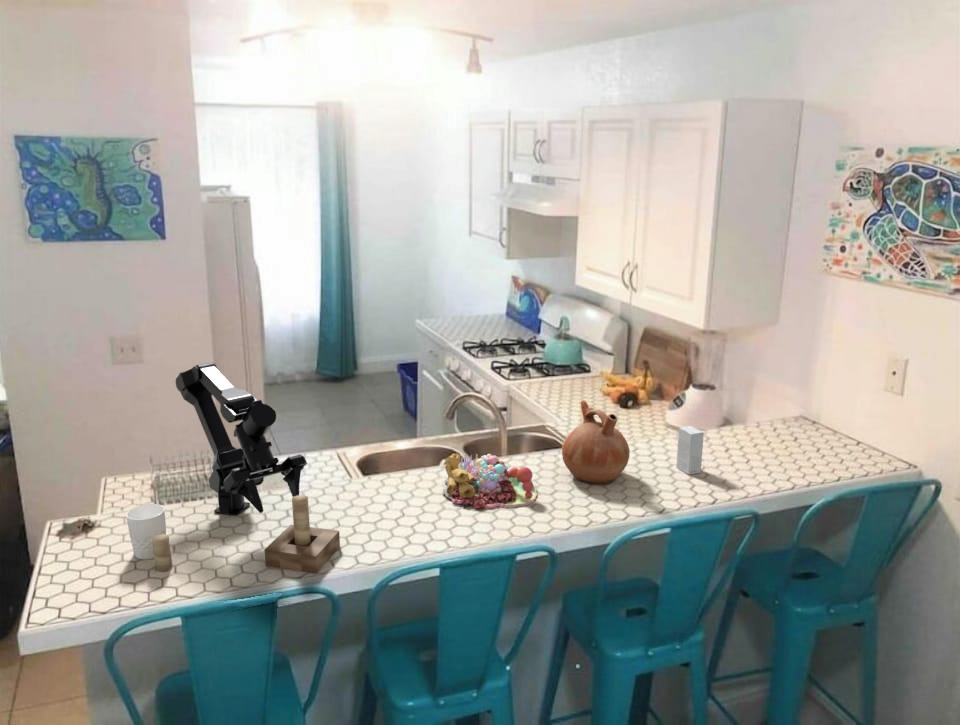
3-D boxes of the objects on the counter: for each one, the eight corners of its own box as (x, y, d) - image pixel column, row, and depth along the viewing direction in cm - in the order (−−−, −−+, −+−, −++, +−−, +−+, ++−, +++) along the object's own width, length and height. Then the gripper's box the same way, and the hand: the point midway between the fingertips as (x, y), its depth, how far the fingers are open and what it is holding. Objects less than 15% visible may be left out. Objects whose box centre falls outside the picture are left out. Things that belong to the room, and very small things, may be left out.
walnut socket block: (291, 540, 184) (290, 524, 183) (340, 546, 181) (339, 530, 180) (265, 566, 173) (264, 549, 172) (316, 573, 170) (315, 556, 169)
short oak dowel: (161, 562, 175) (158, 533, 173) (175, 564, 174) (172, 535, 172) (152, 570, 171) (148, 540, 170) (165, 572, 171) (162, 542, 169)
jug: (548, 469, 224) (550, 401, 218) (603, 459, 231) (606, 393, 226) (583, 495, 208) (586, 422, 202) (641, 483, 215) (645, 412, 210)
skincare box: (701, 473, 222) (704, 432, 218) (688, 475, 220) (691, 434, 217) (688, 465, 227) (691, 425, 224) (675, 467, 226) (678, 427, 222)
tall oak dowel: (295, 553, 178) (291, 496, 175) (310, 551, 179) (307, 494, 176) (296, 561, 175) (292, 502, 171) (312, 558, 176) (308, 500, 172)
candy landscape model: (452, 515, 197) (452, 481, 195) (433, 478, 219) (432, 446, 217) (548, 504, 203) (549, 470, 201) (520, 469, 225) (521, 438, 223)
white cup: (174, 543, 183) (169, 503, 180) (162, 561, 175) (157, 519, 173) (139, 544, 183) (134, 503, 180) (125, 561, 175) (120, 520, 172)
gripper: (275, 451, 195) (299, 509, 191) (203, 468, 182) (228, 531, 178) (294, 431, 188) (320, 491, 184) (222, 447, 174) (248, 512, 170)
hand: (280, 506), depth 179 cm, fingers open, 9 cm apart
